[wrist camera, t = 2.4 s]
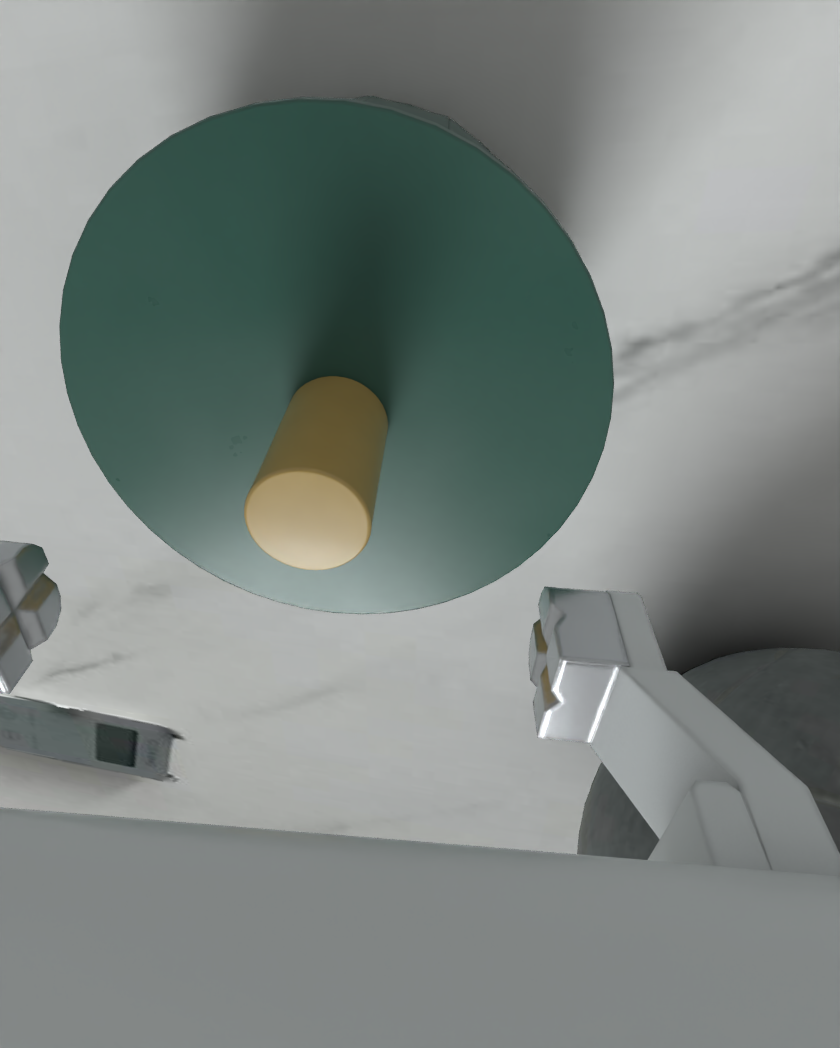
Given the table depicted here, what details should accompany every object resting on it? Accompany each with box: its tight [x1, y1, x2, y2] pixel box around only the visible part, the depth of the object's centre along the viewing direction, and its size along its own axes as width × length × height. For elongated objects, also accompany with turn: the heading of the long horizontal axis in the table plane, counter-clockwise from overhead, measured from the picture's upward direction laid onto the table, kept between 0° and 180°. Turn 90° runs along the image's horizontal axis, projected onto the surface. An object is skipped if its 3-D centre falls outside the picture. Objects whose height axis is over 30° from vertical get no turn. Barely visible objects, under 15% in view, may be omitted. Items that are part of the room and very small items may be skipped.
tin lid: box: [60, 97, 614, 614], centre depth 14 cm, size 13×13×5 cm
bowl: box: [577, 648, 840, 860], centre depth 29 cm, size 21×21×15 cm
